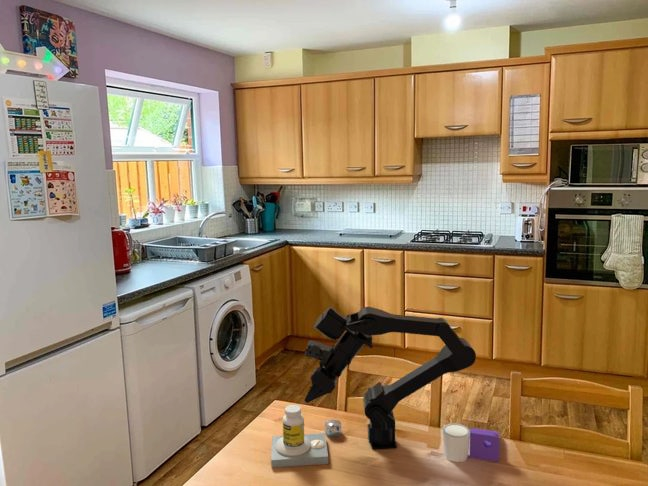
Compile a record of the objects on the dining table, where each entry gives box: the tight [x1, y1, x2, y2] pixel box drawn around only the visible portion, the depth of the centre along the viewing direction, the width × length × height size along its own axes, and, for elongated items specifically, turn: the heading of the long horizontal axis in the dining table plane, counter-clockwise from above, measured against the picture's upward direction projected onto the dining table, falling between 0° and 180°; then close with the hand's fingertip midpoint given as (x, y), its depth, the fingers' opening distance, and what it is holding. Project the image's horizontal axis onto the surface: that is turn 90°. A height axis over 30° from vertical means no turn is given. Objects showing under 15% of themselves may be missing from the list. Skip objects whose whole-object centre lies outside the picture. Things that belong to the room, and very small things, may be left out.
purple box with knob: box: [469, 428, 500, 462], centre depth 136 cm, size 12×7×7 cm, turn 162°
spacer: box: [324, 418, 342, 439], centre depth 145 cm, size 4×4×3 cm
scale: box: [270, 432, 329, 469], centre depth 136 cm, size 14×11×3 cm
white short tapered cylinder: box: [441, 422, 471, 463], centre depth 133 cm, size 7×7×7 cm
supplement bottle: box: [282, 404, 305, 449], centre depth 135 cm, size 5×5×10 cm
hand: (309, 395), depth 138 cm, fingers open, 9 cm apart
